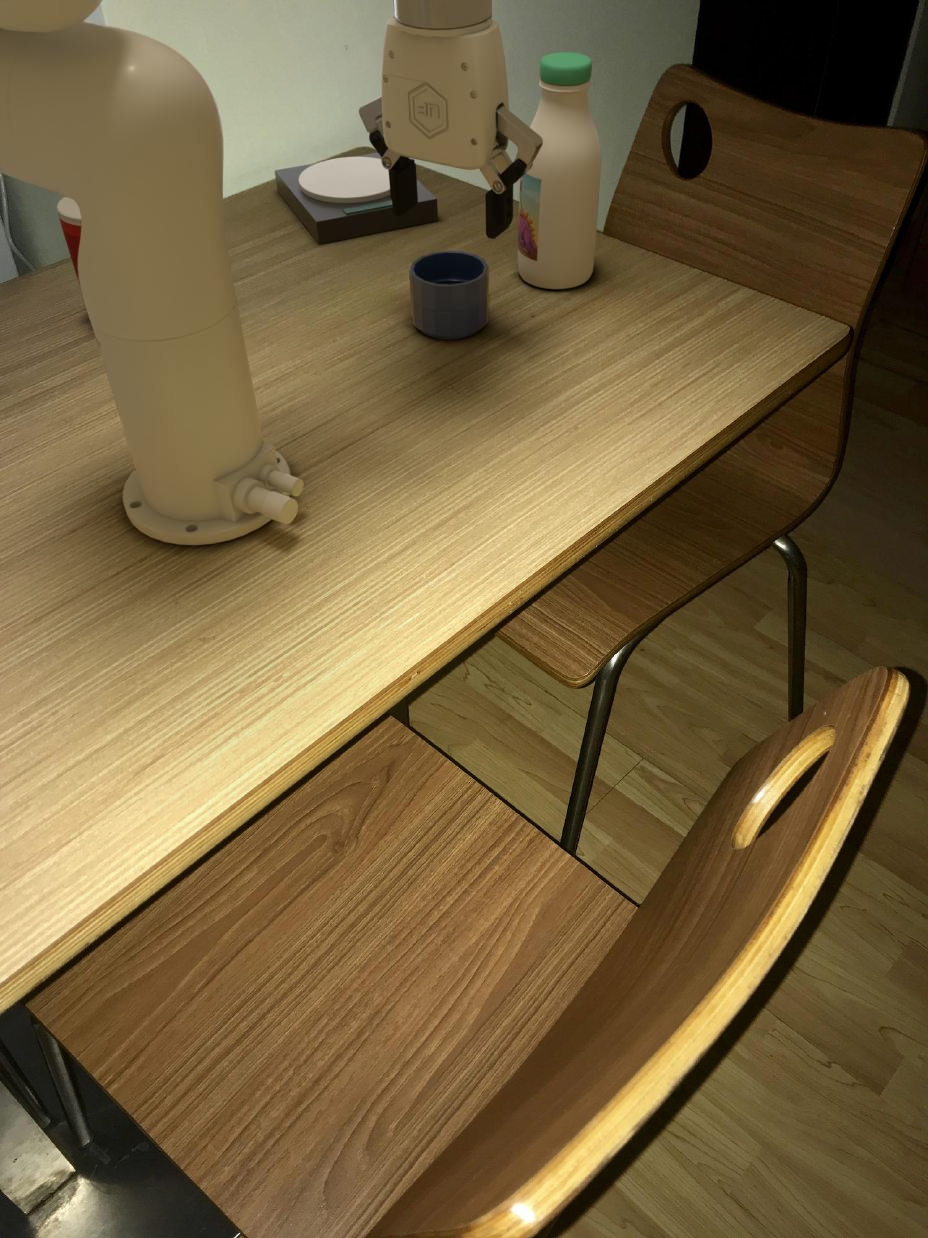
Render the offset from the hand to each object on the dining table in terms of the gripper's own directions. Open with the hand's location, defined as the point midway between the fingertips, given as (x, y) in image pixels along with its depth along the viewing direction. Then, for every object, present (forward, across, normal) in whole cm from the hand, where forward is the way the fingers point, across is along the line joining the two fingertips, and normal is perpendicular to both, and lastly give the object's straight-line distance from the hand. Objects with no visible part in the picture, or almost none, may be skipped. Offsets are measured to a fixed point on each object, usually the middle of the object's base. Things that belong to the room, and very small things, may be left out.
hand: (451, 220), depth 88 cm
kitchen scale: (+10, -24, +17) cm, 31 cm away
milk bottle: (+10, +4, +13) cm, 17 cm away
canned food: (+10, -28, -15) cm, 33 cm away
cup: (+10, 0, -1) cm, 10 cm away
